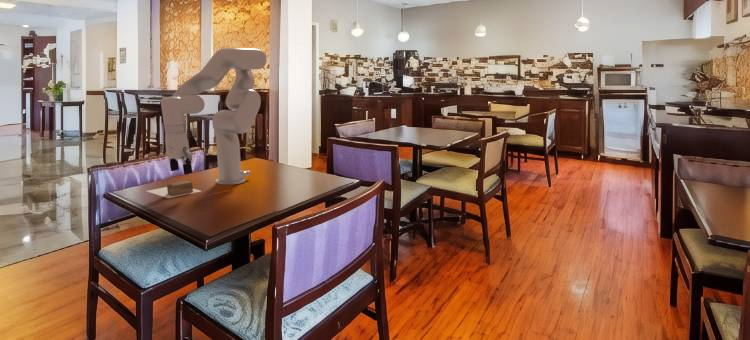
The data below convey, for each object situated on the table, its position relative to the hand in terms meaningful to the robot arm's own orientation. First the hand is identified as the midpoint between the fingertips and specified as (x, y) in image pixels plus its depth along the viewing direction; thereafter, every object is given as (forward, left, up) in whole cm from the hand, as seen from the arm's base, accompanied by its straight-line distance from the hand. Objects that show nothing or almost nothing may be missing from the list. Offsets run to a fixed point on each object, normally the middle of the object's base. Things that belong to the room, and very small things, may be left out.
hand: (181, 172), depth 180 cm
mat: (+1, -5, -9) cm, 10 cm away
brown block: (+1, 0, -8) cm, 8 cm away
